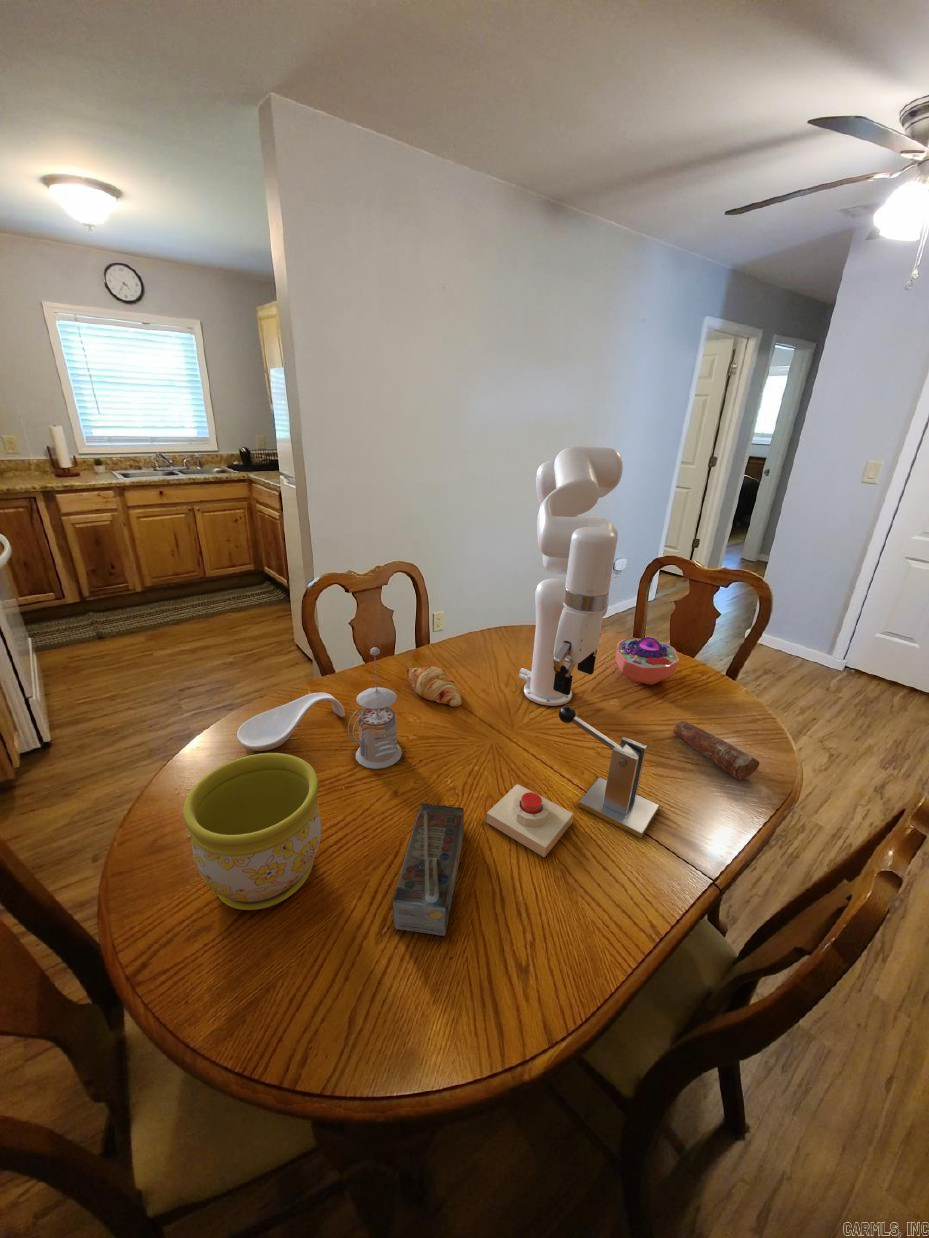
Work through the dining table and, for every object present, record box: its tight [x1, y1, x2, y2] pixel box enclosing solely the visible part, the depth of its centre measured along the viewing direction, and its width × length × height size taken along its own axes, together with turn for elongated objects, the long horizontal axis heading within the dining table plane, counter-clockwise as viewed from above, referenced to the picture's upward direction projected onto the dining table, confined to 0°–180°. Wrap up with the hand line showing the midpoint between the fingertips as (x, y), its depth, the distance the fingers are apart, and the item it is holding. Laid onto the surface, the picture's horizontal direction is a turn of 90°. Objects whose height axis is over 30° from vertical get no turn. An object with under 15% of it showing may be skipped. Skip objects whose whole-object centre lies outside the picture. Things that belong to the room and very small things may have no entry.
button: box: [521, 791, 542, 814], centre depth 88 cm, size 4×4×2 cm
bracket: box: [578, 736, 660, 839], centre depth 91 cm, size 12×9×14 cm
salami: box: [673, 720, 760, 781], centre depth 109 cm, size 6×19×6 cm, turn 23°
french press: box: [347, 646, 403, 770], centre depth 101 cm, size 10×12×25 cm
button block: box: [485, 783, 574, 858], centre depth 89 cm, size 12×10×4 cm
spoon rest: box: [236, 692, 346, 752], centre depth 111 cm, size 24×12×7 cm, turn 134°
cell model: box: [614, 636, 680, 686], centre depth 140 cm, size 17×20×11 cm
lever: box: [558, 705, 640, 756], centre depth 92 cm, size 16×3×3 cm, turn 52°
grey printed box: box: [392, 802, 465, 937], centre depth 77 cm, size 8×19×7 cm, turn 172°
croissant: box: [406, 665, 462, 707], centre depth 129 cm, size 21×10×8 cm, turn 44°
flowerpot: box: [182, 752, 322, 911], centre depth 75 cm, size 18×18×16 cm
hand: (573, 681), depth 95 cm, fingers open, 9 cm apart
